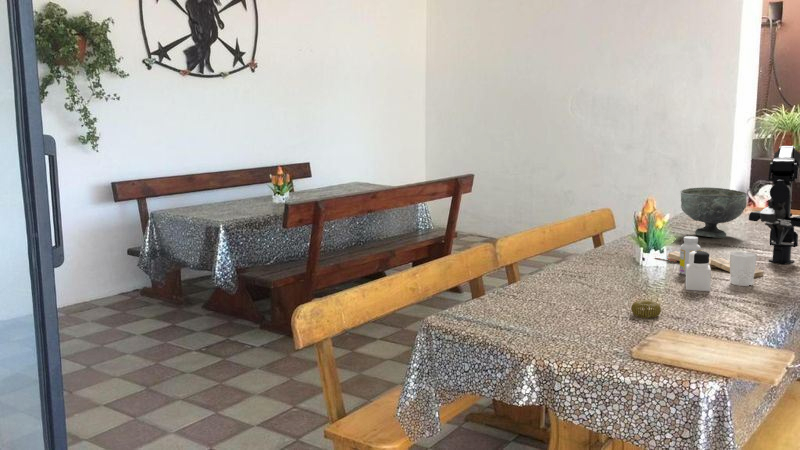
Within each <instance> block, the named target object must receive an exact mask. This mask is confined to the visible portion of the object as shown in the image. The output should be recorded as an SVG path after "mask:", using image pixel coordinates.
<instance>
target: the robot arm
mask: <svg viewBox="0 0 800 450" xmlns="http://www.w3.org/2000/svg"><path fill="white" fill-rule="evenodd" d="M799 169H800V152H799V151H797V150H796V146H793V145H781V146H779V147H778V150H777V151H776V152H774V153H773V159H772V162H770V163H769V172H768V179H767V181H768V182H773V183H772V184H771V188H770V190H769V196H770V198H771V200H768V203H767V206H766V207H764V208H763V209H762V210H755V211H751V212H750V213H749V214H748V221H750V222H759V220H760V222H761V223H764V222H765V223H764V225H765V226H767V227H768V228H769V229H770V230H769V231H770V232H769V246H771V247H773V248H772V258H771V259H768V262H771V263H775V264H776V263H777V264H782V265H788V264H791V263H795V262H796V261H795V260H793V259H792V248H796V247H799V245H798V242H799V234H798V233H797V230H795V227H796V228H800V215H798V216H797V215H796V216H793V212H791V211H792V210H791V208H792V205H793V204H794V201H793V200H792V194H793V193H792V192H793V182H796V180H798V177H799Z"/></svg>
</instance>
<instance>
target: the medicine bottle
mask: <svg viewBox="0 0 800 450" xmlns="http://www.w3.org/2000/svg"><path fill="white" fill-rule="evenodd" d="M709 257H710V253H708V252H707V251H703V250H701V251H692V252H690V253H689V264H686V275H685V290H686V291H695V292H696V291H697V292H700V291H701V292H710V291H711V284H712V283H711V281H712V280H711V279H712V268H710V265H709Z"/></svg>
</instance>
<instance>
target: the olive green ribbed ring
mask: <svg viewBox="0 0 800 450" xmlns="http://www.w3.org/2000/svg"><path fill="white" fill-rule="evenodd" d="M630 309H631V312H632V314H633V315H634V316H635V317H638V318H640V317H641V318H642V319H653V318H657V317H658V316H659V315H660V314H661V313H662V312H661V311H662V309H661V306H660V304H659V303H658V302H656V301H653V300H648V299H642V300H637V301H634V302H633V303H632V304H631V306H630Z"/></svg>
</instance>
